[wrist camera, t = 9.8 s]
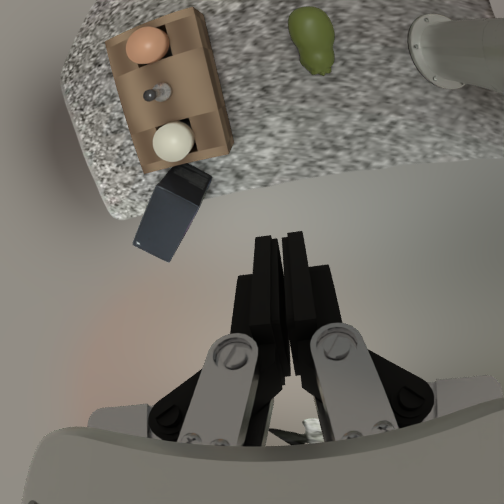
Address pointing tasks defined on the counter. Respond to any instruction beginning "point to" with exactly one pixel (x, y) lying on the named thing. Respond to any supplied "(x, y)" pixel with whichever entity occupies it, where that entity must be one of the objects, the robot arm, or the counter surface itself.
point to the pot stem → (158, 93)
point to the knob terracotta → (148, 45)
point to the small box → (171, 210)
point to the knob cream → (174, 140)
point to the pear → (313, 38)
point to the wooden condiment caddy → (173, 90)
